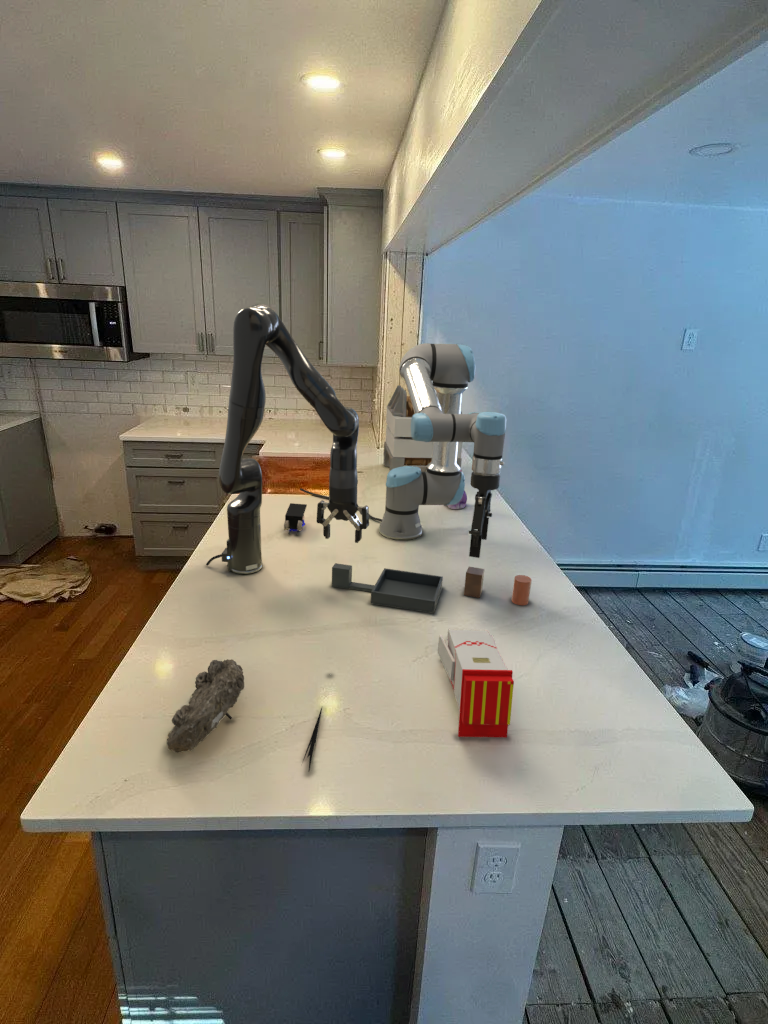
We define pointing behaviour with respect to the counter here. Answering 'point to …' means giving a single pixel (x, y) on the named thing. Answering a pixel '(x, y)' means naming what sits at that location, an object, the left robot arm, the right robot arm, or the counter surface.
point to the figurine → (460, 502)
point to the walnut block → (474, 582)
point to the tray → (395, 588)
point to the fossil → (206, 705)
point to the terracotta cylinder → (521, 590)
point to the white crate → (405, 436)
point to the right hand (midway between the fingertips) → (478, 547)
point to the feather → (313, 740)
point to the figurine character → (295, 517)
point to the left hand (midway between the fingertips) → (342, 539)
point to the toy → (478, 682)
